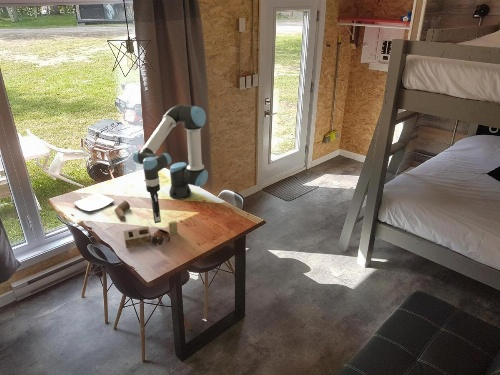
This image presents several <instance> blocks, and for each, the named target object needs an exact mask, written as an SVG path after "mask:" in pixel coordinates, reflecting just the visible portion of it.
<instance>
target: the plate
mask: <svg viewBox="0 0 500 375" xmlns="http://www.w3.org/2000/svg"><path fill="white" fill-rule="evenodd" d="M114 202H115V199H113V198H111V197H109V196H106V195H104V194H102V193H100V192H96V193H93V194H92V195H89V196H87V197H85V198H82V199H79V200H77V201H74V202H73V204H74V205H75V206H76V207H77V208H79V209H80V210H82V211H85V212H88V213H92V212H95V211H99V210H101V209H104V208H106V207H108V206H109V205H111V204H112V203H114Z"/></svg>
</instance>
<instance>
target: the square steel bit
mask: <svg viewBox="0 0 500 375" xmlns="http://www.w3.org/2000/svg"><path fill="white" fill-rule="evenodd" d="M151 208H152V216H153V222H154V224H157V223H162V218H161V216H160V221H155V213H154V212H153V211H155V210H154V204H153V201H152V199H151ZM160 209H161V208H159V211H160ZM159 214H160V215H161V211H160V212H159Z"/></svg>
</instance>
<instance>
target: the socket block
mask: <svg viewBox="0 0 500 375" xmlns="http://www.w3.org/2000/svg"><path fill="white" fill-rule="evenodd" d="M123 236H124V242H125V247H126V249H128V248H133V247H138V246H144V245H148V244H153V243H152V239H153V237H152V234H151V231H150V227H149V226H144V227H139V228H131V229H126V230H123Z"/></svg>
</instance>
